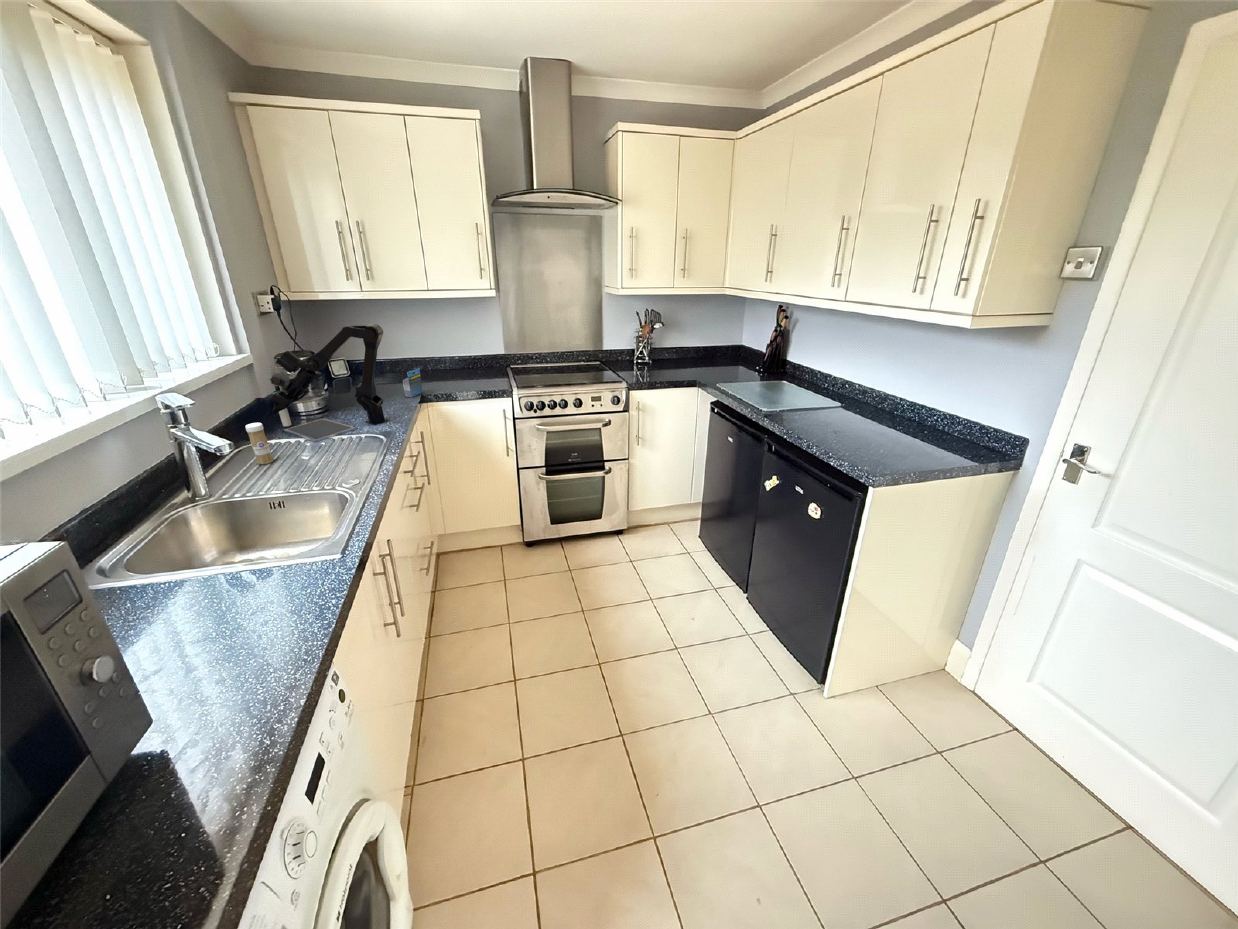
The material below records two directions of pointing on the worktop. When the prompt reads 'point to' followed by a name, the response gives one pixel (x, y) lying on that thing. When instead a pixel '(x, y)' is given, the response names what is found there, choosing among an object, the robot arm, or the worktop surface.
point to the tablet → (319, 429)
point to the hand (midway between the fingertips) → (279, 409)
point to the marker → (285, 418)
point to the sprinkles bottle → (259, 443)
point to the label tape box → (412, 384)
